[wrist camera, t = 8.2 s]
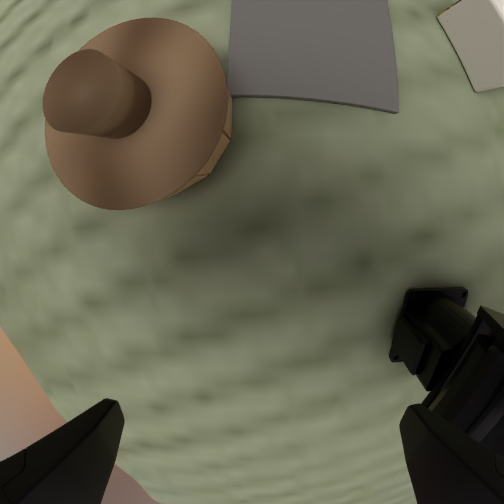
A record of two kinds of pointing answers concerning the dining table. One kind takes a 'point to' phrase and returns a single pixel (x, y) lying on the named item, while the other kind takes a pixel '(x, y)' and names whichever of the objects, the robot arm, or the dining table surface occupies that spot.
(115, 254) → the dining table surface
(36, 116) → the dining table surface
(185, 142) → the lid
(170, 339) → the dining table surface
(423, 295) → the robot arm
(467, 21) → the white boxy piece
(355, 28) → the mat
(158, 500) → the dining table surface
